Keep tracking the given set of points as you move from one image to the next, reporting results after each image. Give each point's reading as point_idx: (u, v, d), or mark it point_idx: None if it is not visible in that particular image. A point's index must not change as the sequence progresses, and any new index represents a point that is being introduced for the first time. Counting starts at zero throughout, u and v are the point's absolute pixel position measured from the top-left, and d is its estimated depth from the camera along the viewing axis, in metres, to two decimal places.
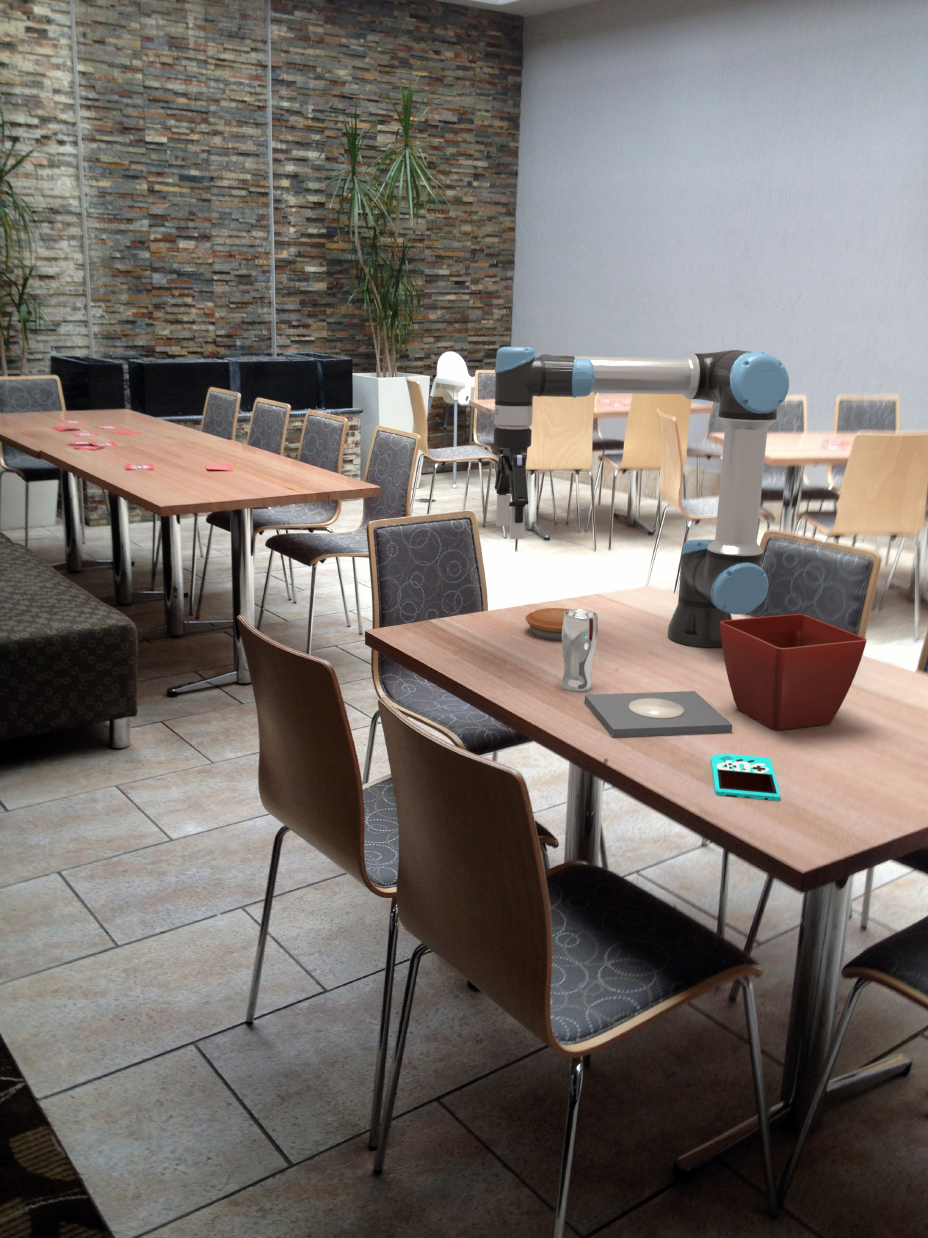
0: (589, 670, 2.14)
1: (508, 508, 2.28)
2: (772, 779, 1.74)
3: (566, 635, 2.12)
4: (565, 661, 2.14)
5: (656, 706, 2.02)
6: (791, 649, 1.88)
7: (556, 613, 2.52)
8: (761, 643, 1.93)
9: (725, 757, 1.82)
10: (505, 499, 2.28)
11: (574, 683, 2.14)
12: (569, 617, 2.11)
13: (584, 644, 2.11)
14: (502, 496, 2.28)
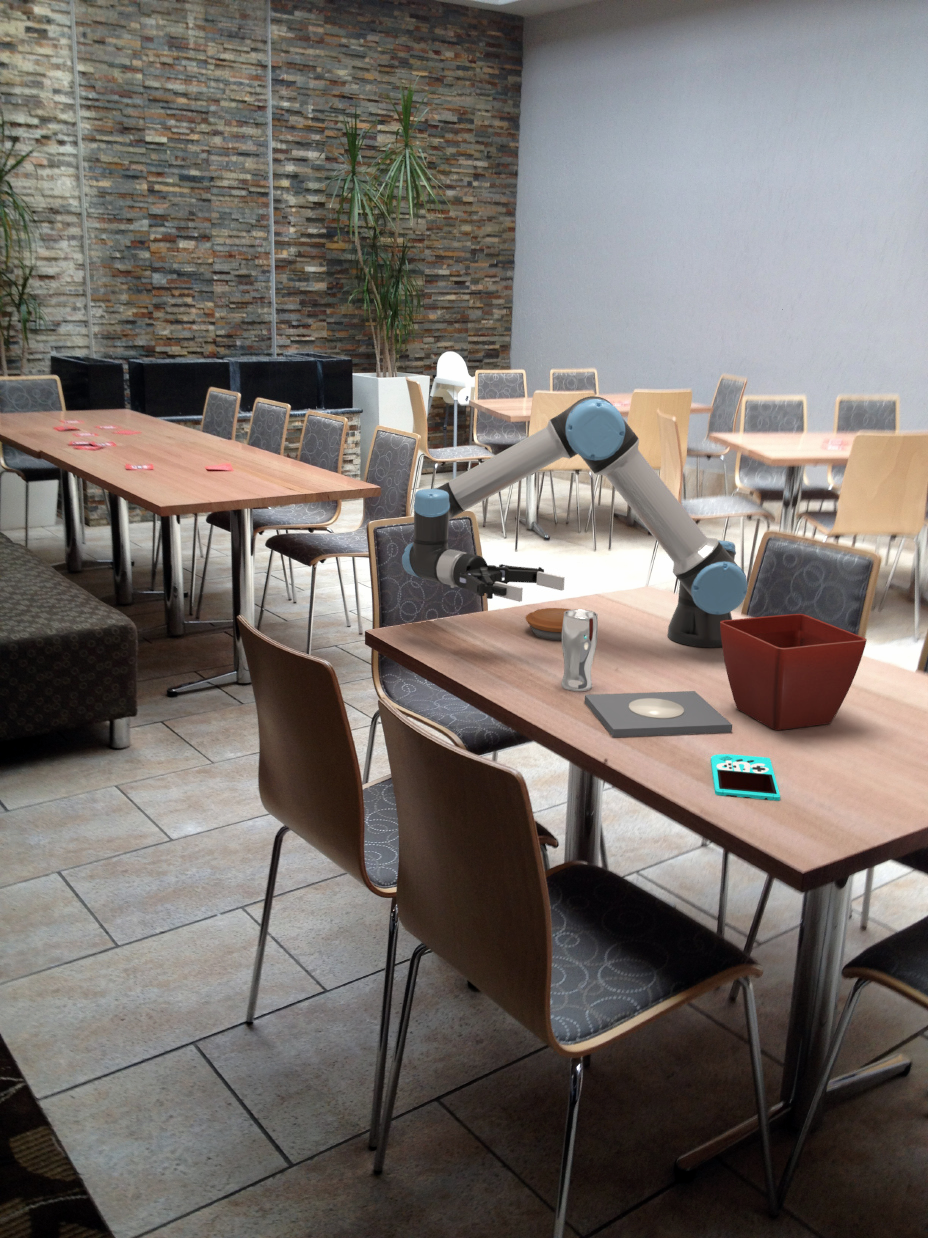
0: (589, 670, 2.14)
1: (547, 575, 2.25)
2: (771, 779, 1.74)
3: (565, 635, 2.12)
4: (565, 661, 2.14)
5: (656, 706, 2.02)
6: (791, 649, 1.88)
7: (556, 613, 2.52)
8: (761, 643, 1.93)
9: (725, 757, 1.82)
10: (540, 577, 2.26)
11: (574, 683, 2.14)
12: (569, 617, 2.11)
13: (584, 644, 2.11)
14: (537, 580, 2.27)
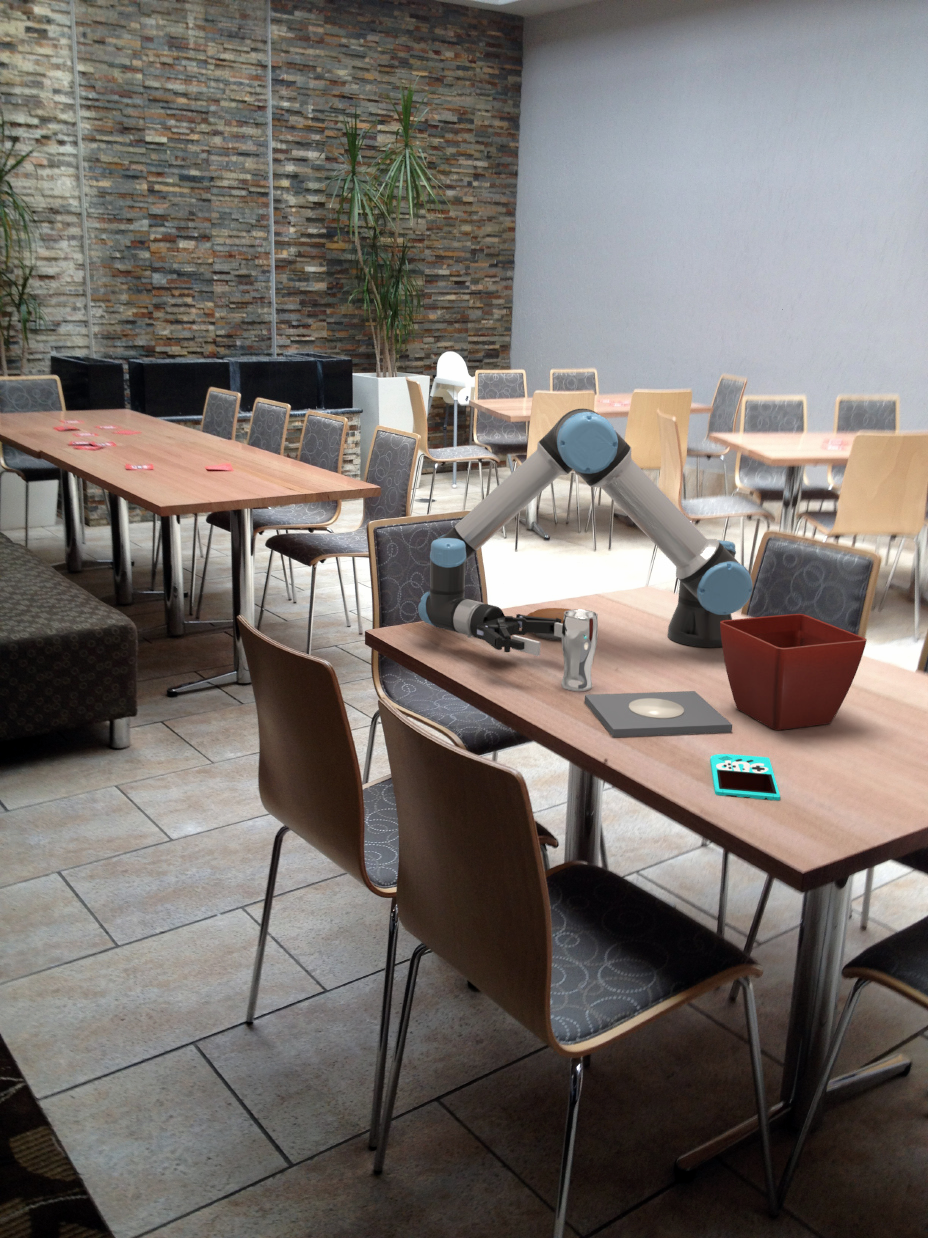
0: (589, 670, 2.14)
1: None
2: (771, 779, 1.74)
3: (565, 635, 2.12)
4: (565, 661, 2.14)
5: (656, 706, 2.02)
6: (791, 649, 1.88)
7: (556, 613, 2.52)
8: (761, 643, 1.93)
9: (724, 757, 1.82)
10: (557, 628, 2.25)
11: (574, 683, 2.14)
12: (569, 617, 2.11)
13: (584, 644, 2.11)
14: (555, 631, 2.26)
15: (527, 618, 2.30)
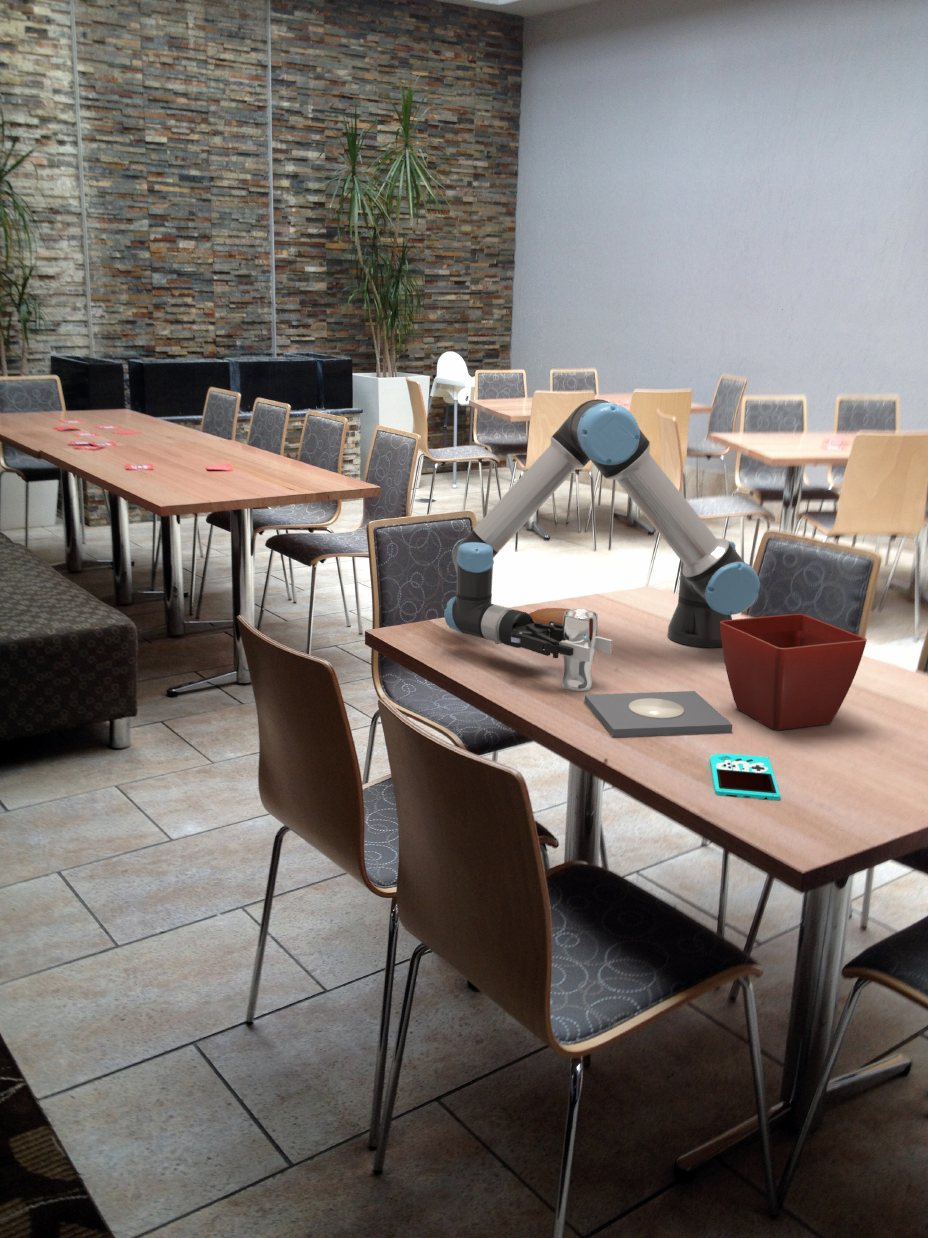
0: (589, 670, 2.14)
1: None
2: (771, 779, 1.74)
3: (565, 635, 2.12)
4: (565, 661, 2.14)
5: (656, 706, 2.02)
6: (791, 649, 1.88)
7: (556, 613, 2.52)
8: (761, 643, 1.93)
9: (724, 757, 1.82)
10: None
11: (574, 683, 2.14)
12: (569, 617, 2.11)
13: (584, 644, 2.11)
14: None
15: (557, 626, 2.24)
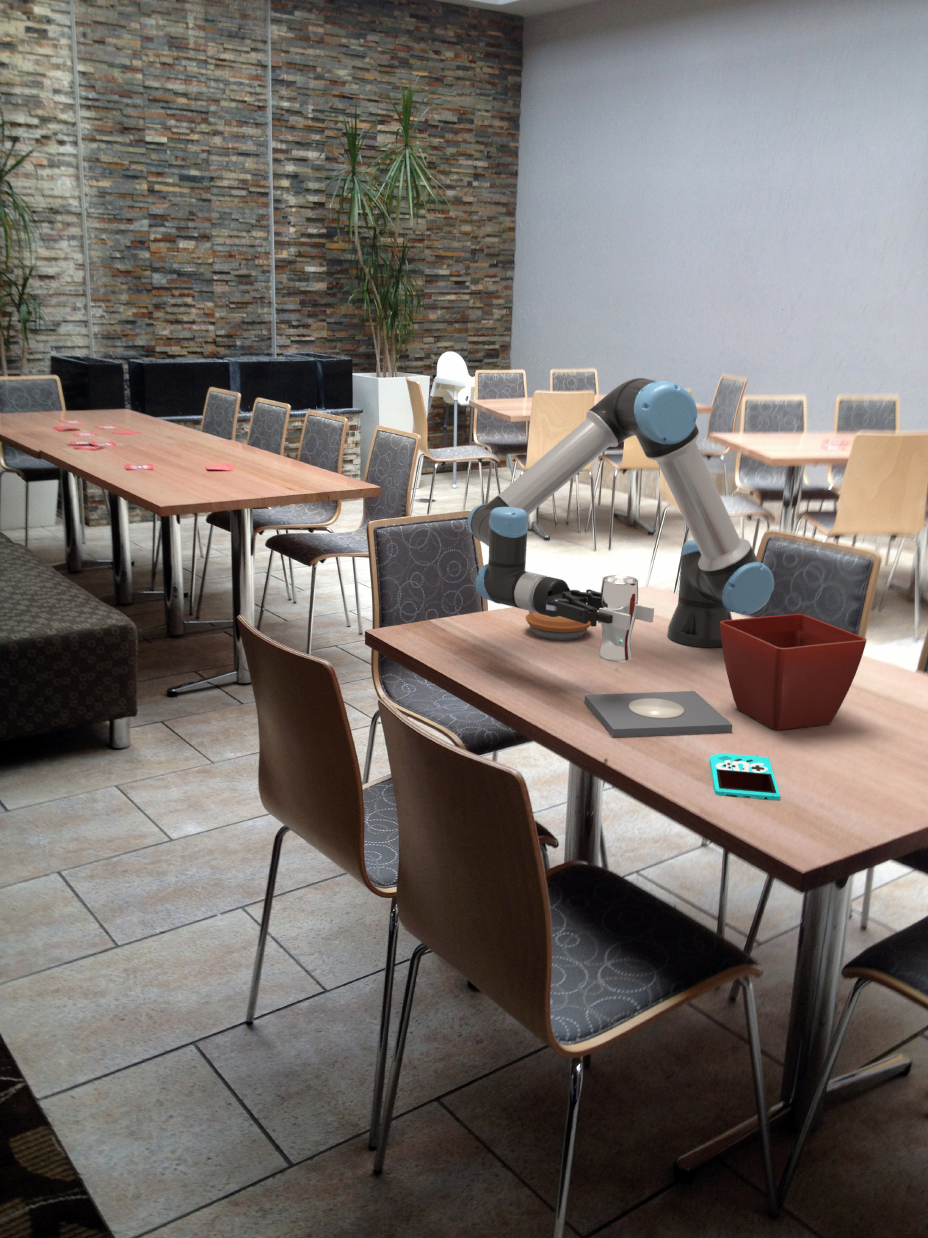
0: (629, 639, 2.03)
1: None
2: (771, 779, 1.74)
3: (604, 602, 2.00)
4: (603, 630, 2.03)
5: (656, 706, 2.02)
6: (791, 649, 1.88)
7: None
8: (761, 643, 1.93)
9: (724, 757, 1.82)
10: None
11: (613, 653, 2.02)
12: (608, 583, 1.99)
13: (624, 611, 1.99)
14: None
15: (595, 594, 2.12)
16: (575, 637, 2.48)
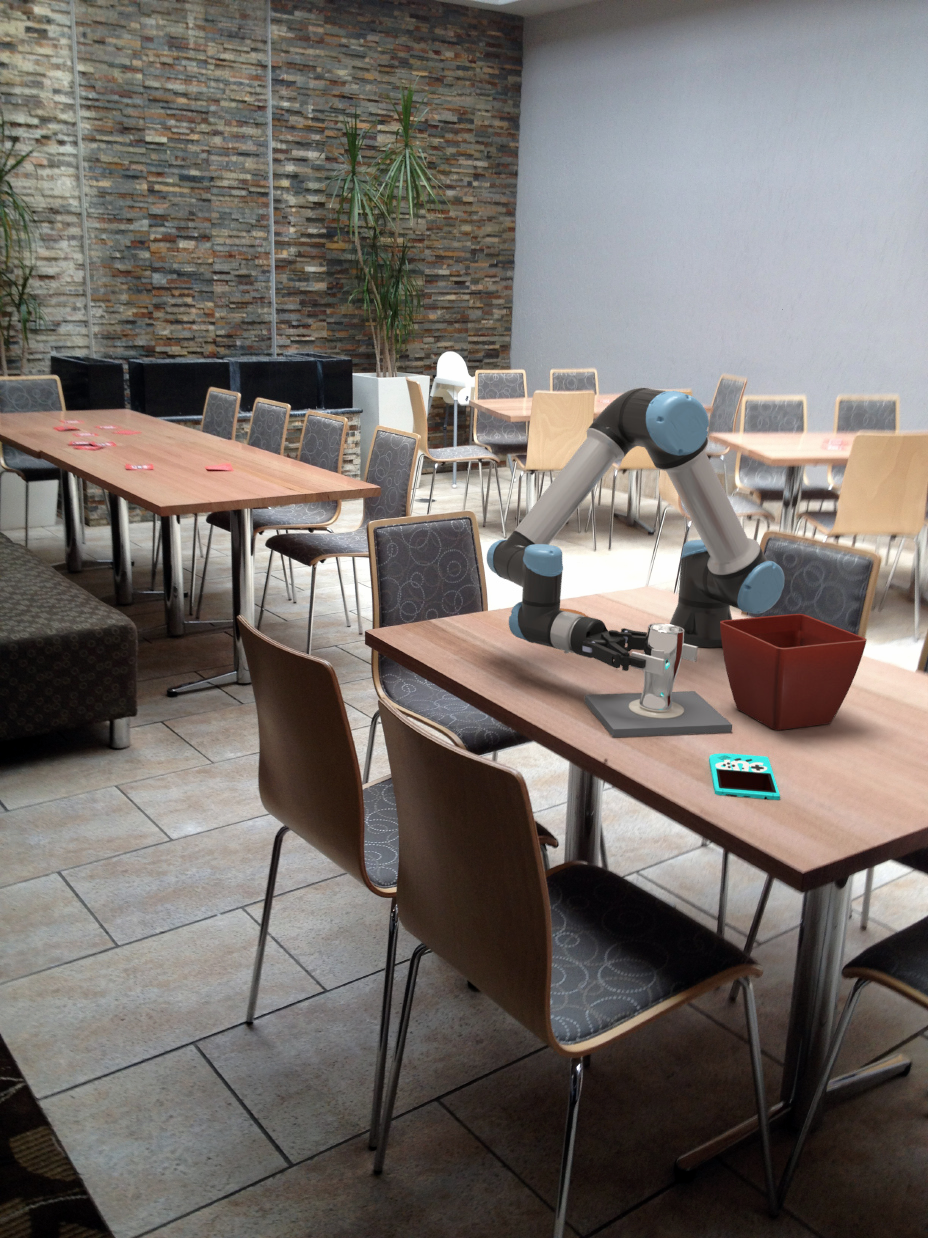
0: (671, 689, 1.99)
1: None
2: (771, 778, 1.74)
3: (649, 650, 1.96)
4: (646, 678, 1.99)
5: None
6: (791, 649, 1.88)
7: None
8: (761, 643, 1.93)
9: (723, 756, 1.82)
10: None
11: (654, 702, 1.98)
12: (654, 631, 1.95)
13: (669, 661, 1.95)
14: None
15: (633, 633, 2.09)
16: None
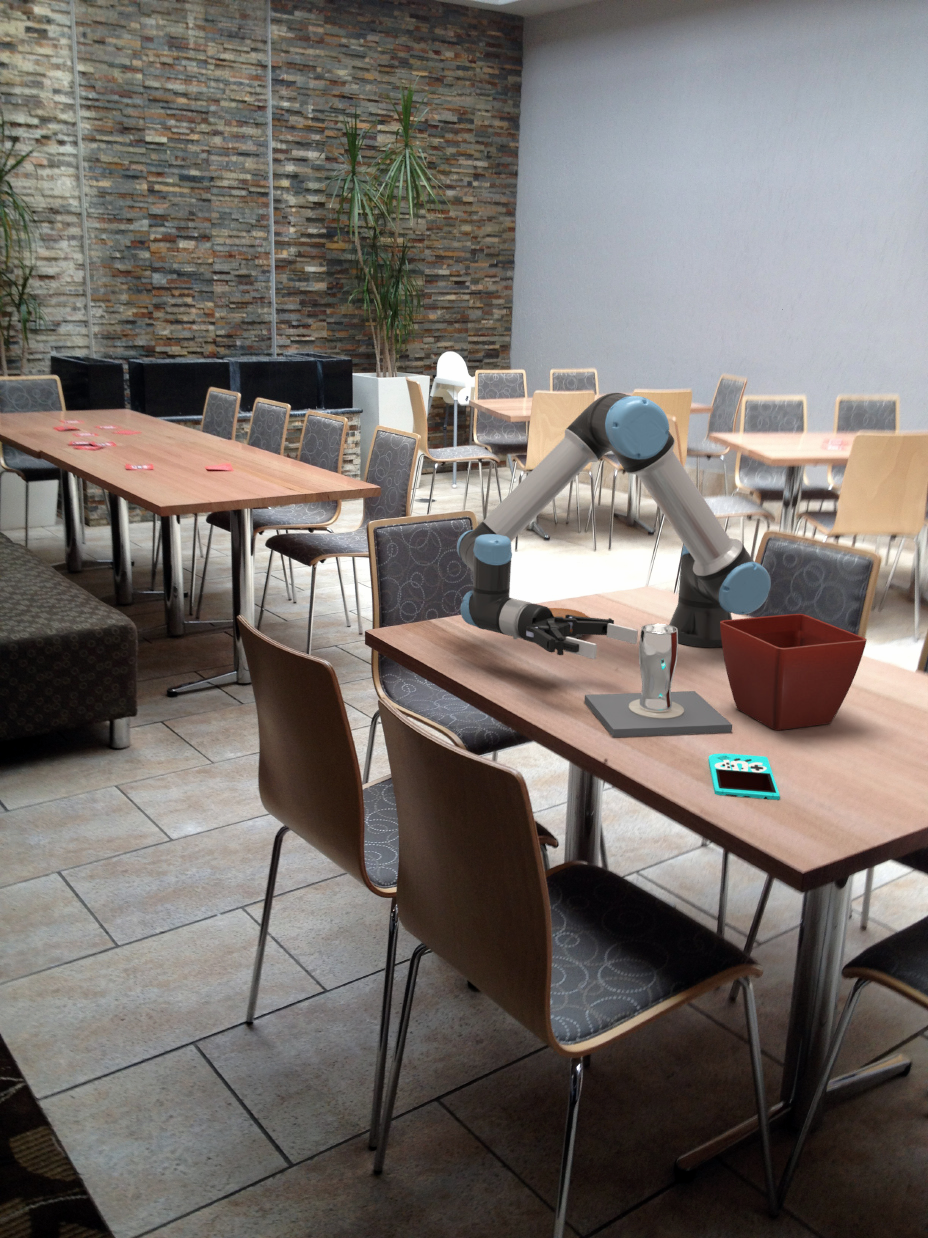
0: (669, 689, 1.99)
1: (619, 628, 2.11)
2: (770, 778, 1.74)
3: (644, 652, 1.96)
4: (643, 680, 1.99)
5: None
6: (791, 649, 1.88)
7: (556, 613, 2.52)
8: (761, 643, 1.93)
9: (722, 756, 1.82)
10: (611, 629, 2.13)
11: (653, 703, 1.98)
12: (647, 632, 1.95)
13: (664, 661, 1.95)
14: (608, 632, 2.13)
15: (577, 619, 2.17)
16: (575, 637, 2.48)
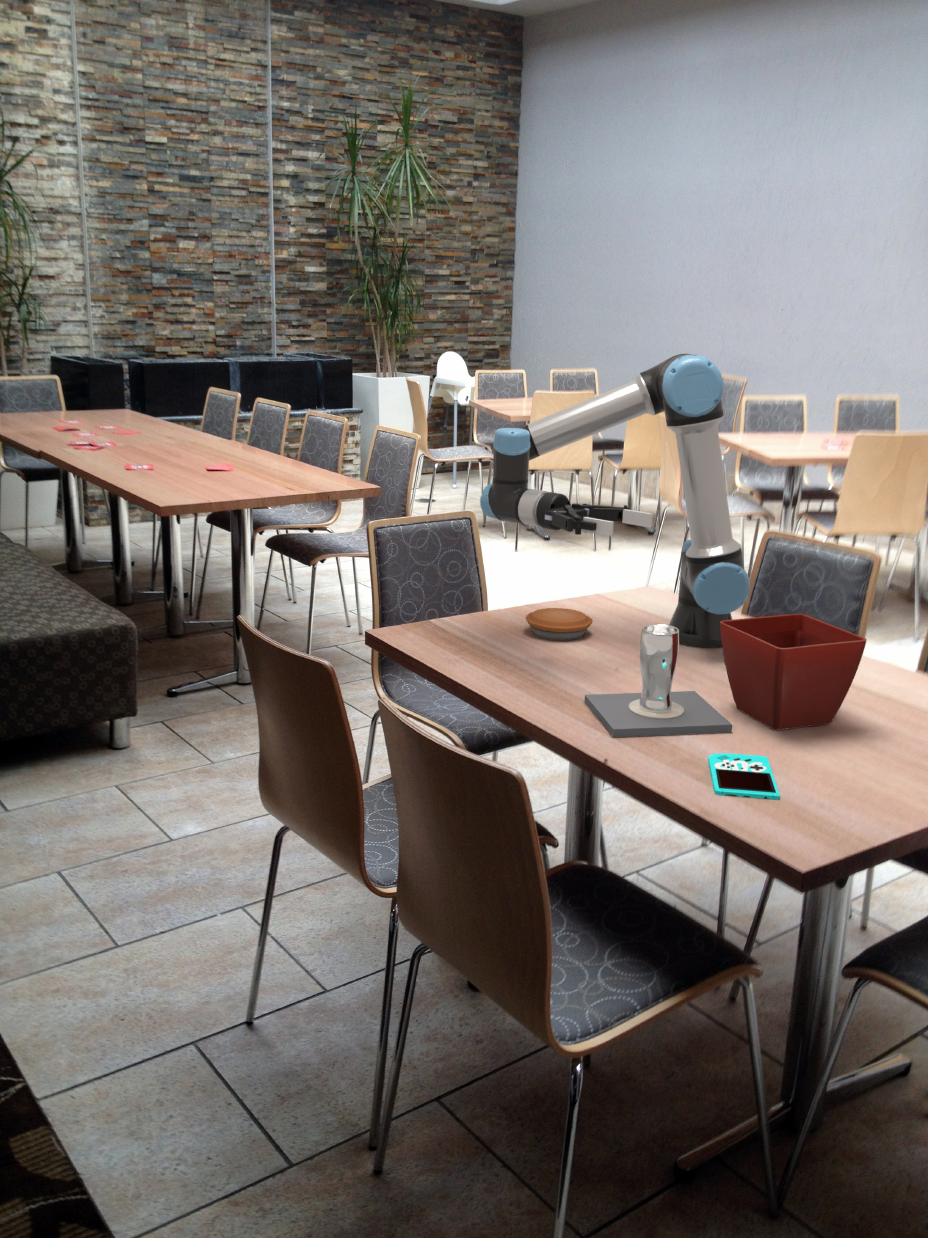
0: (669, 690, 1.99)
1: (634, 513, 2.19)
2: (770, 778, 1.74)
3: (644, 653, 1.96)
4: (643, 680, 1.99)
5: None
6: (791, 649, 1.88)
7: (556, 613, 2.52)
8: (761, 643, 1.93)
9: (722, 756, 1.82)
10: (626, 515, 2.20)
11: (653, 704, 1.98)
12: (648, 633, 1.95)
13: (665, 662, 1.95)
14: (623, 517, 2.21)
15: (594, 507, 2.25)
16: (575, 637, 2.48)
